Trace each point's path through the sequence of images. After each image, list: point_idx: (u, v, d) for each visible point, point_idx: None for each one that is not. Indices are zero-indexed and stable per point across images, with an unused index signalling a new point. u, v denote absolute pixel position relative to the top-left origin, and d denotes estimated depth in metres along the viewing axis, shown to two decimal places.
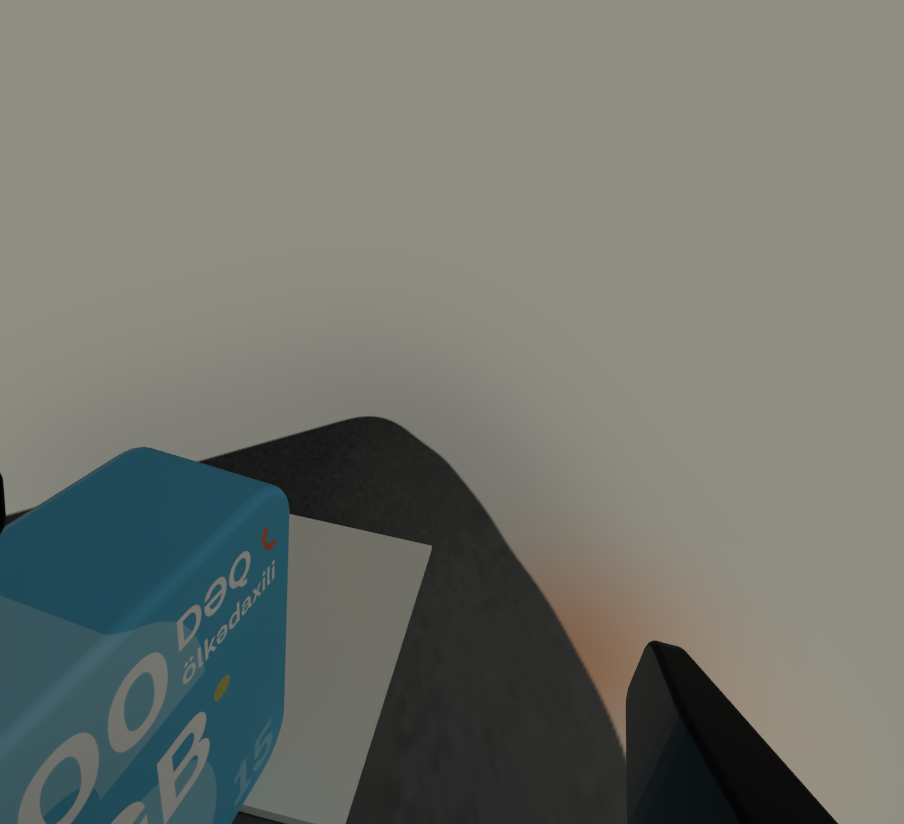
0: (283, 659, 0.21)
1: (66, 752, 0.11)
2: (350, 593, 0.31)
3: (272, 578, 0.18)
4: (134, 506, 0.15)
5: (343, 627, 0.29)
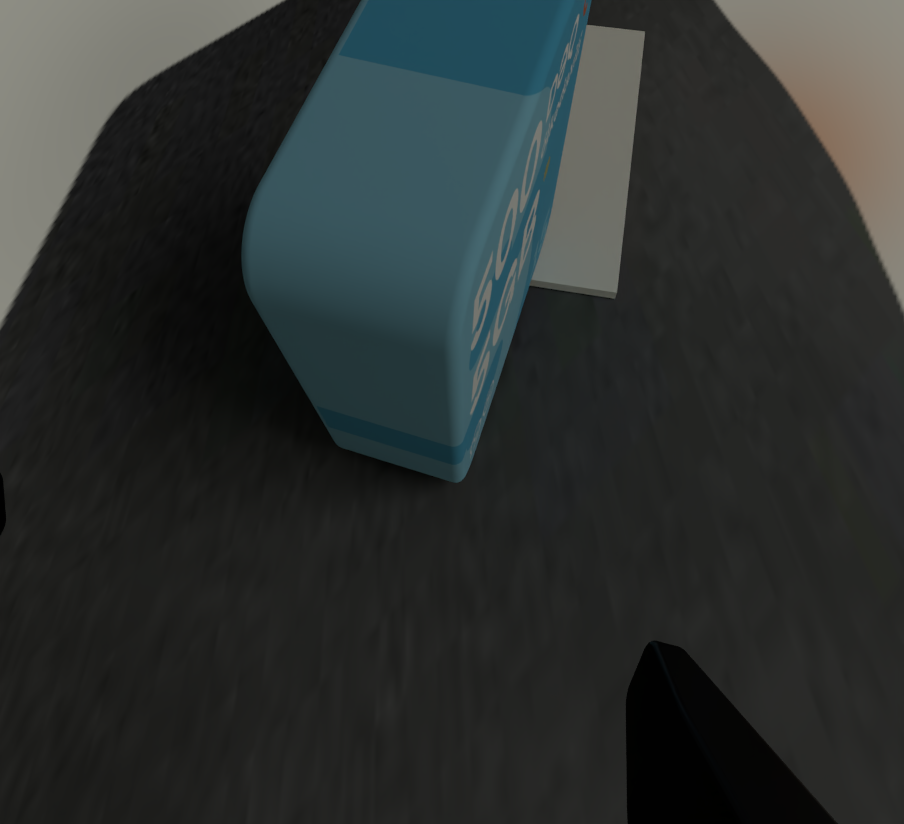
0: (562, 150, 0.21)
1: (512, 203, 0.13)
2: None
3: (577, 54, 0.17)
4: None
5: (572, 128, 0.28)
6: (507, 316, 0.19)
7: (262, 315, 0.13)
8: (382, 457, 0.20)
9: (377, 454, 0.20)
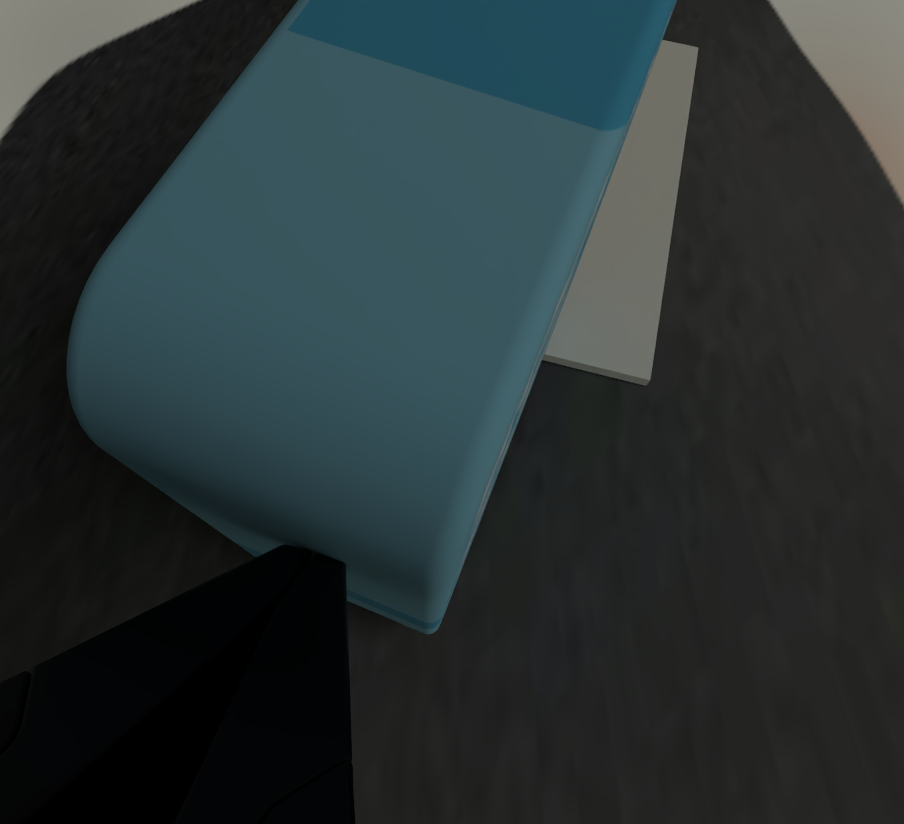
0: None
1: (558, 304, 0.08)
2: None
3: (649, 73, 0.12)
4: None
5: None
6: (517, 420, 0.14)
7: None
8: None
9: None
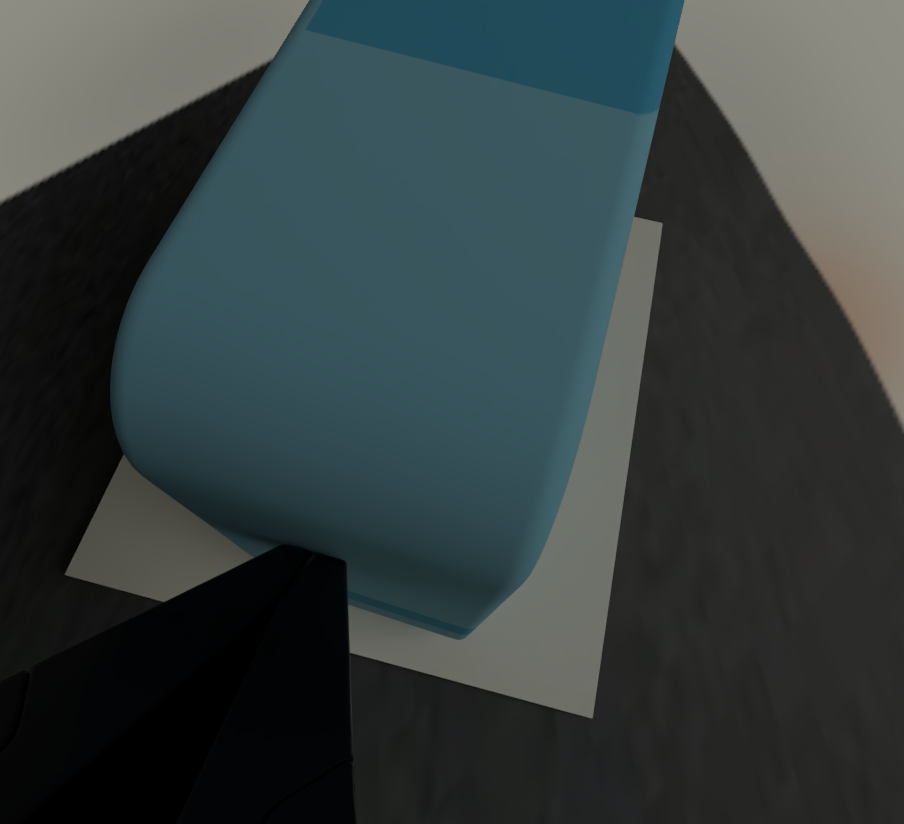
0: None
1: None
2: None
3: None
4: None
5: None
6: None
7: (160, 488, 0.07)
8: (357, 607, 0.14)
9: (350, 604, 0.14)
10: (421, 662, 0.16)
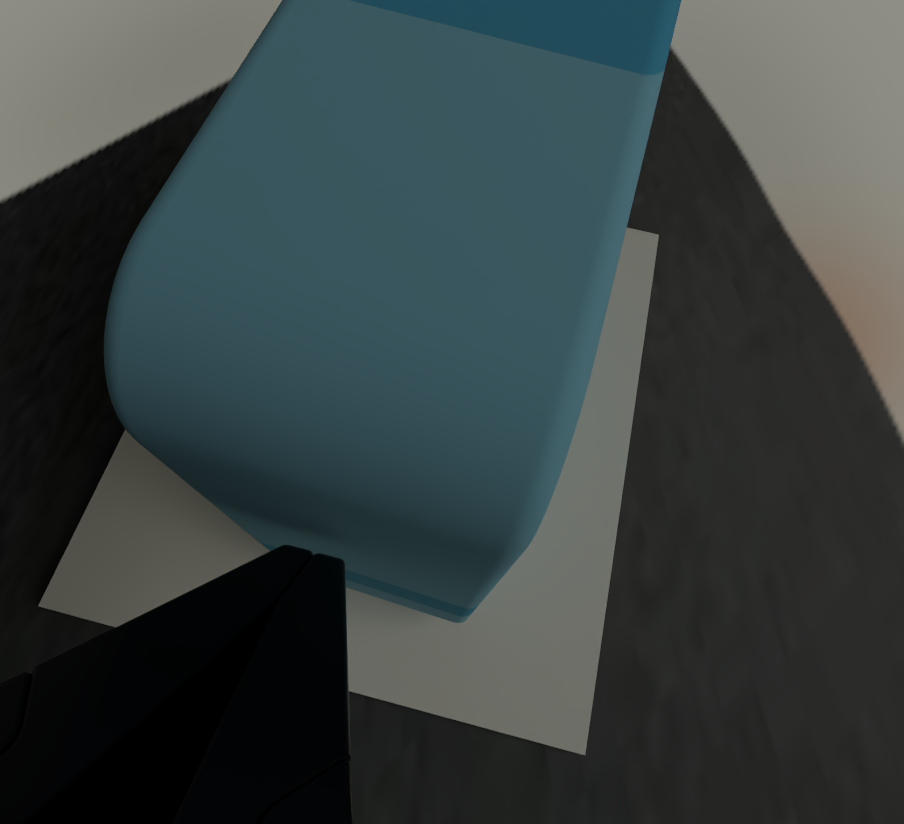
0: None
1: None
2: None
3: None
4: None
5: None
6: None
7: (155, 456, 0.07)
8: (356, 590, 0.14)
9: (349, 586, 0.14)
10: (408, 697, 0.15)
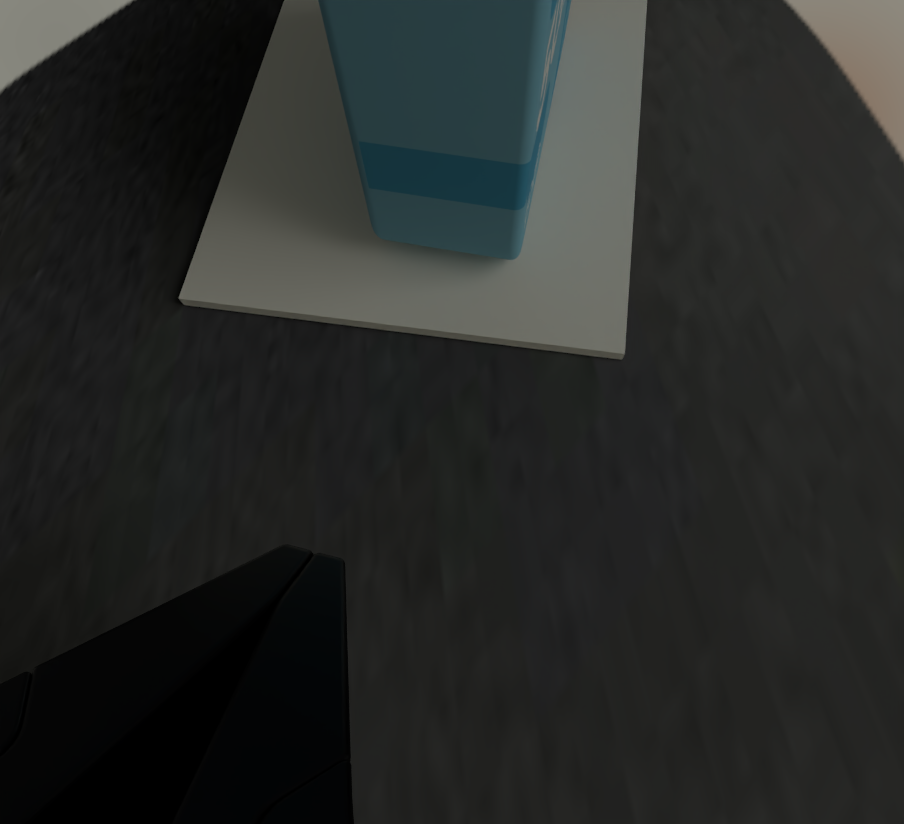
0: None
1: None
2: None
3: None
4: None
5: (558, 124, 0.22)
6: (555, 49, 0.17)
7: None
8: (428, 233, 0.18)
9: (423, 228, 0.18)
10: (478, 329, 0.19)
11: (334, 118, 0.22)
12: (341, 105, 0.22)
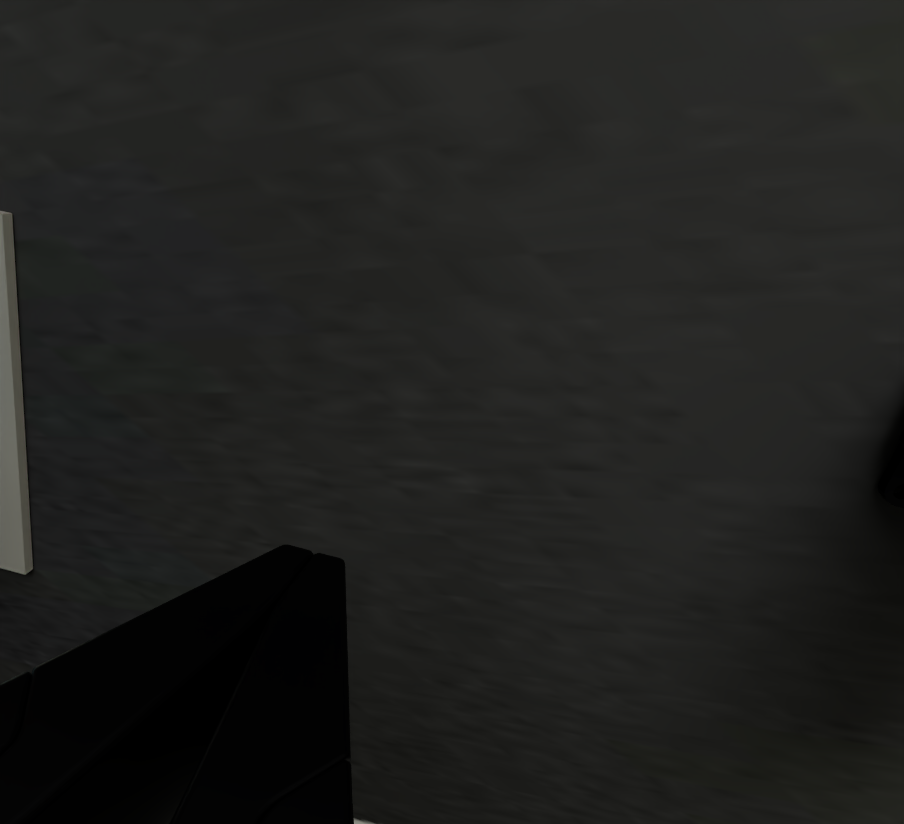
0: None
1: None
2: None
3: None
4: None
5: None
6: None
7: None
8: None
9: None
10: (5, 346, 0.21)
11: None
12: None
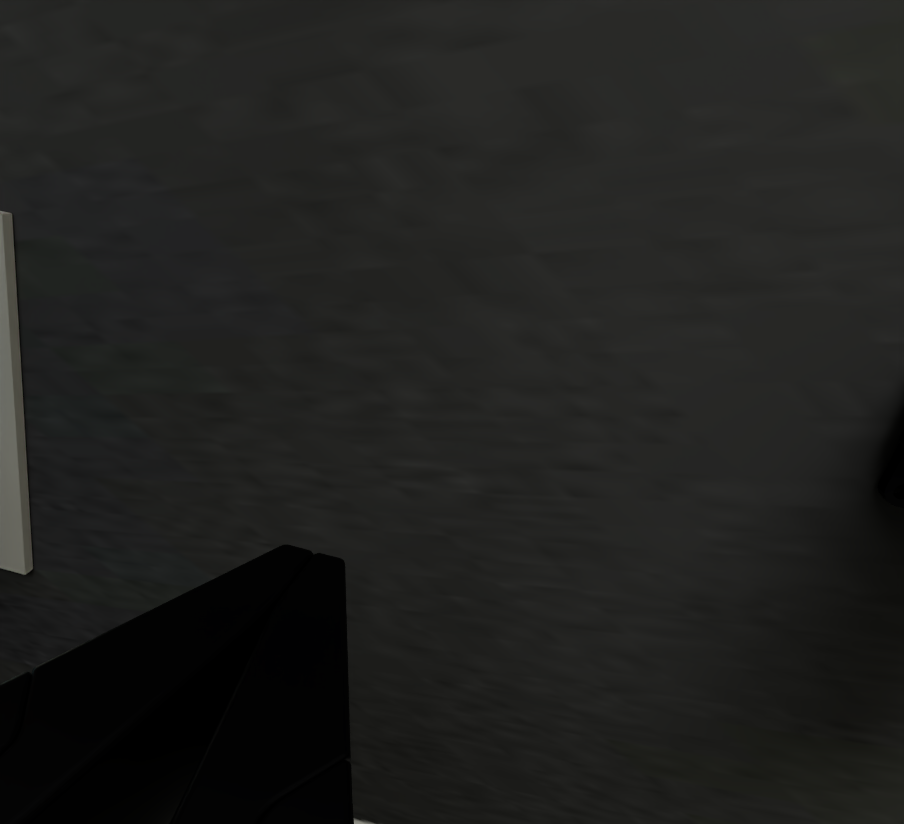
0: None
1: None
2: None
3: None
4: None
5: None
6: None
7: None
8: None
9: None
10: (5, 346, 0.21)
11: None
12: None
